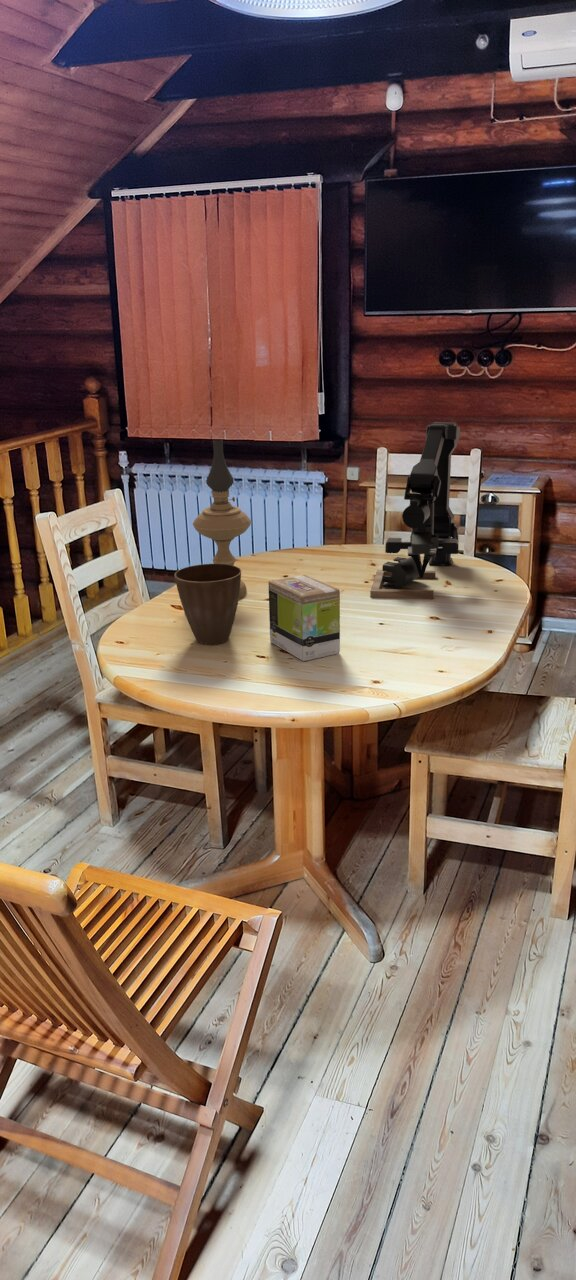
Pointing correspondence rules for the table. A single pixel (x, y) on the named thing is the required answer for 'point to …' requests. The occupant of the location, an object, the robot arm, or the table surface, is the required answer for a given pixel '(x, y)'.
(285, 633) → the tea box
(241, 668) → the table surface
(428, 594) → the brown u-shaped frame
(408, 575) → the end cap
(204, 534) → the oil lamp
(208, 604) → the plant pot
